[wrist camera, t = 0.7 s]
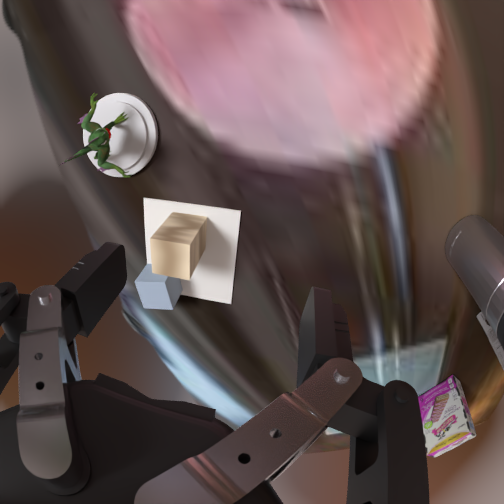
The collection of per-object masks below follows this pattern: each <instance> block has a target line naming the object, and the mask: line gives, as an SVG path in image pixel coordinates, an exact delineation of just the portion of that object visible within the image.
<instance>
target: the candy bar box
mask: <svg viewBox="0 0 504 504" xmlns="http://www.w3.org/2000/svg"><path fill="white" fill-rule="evenodd" d="M418 399H419V405H420V411H421V418H422V425H423V432H424V440H425V447H426V453H427V455H428V456H432V457H437V456H439V455H441V454H443V453H445V452H447V451H449V450H451V449H453V448H455V447H457V446H459V445H461V444H463V443H464V442H466V441H468V440H470V439H471V438H473V437H475V436H476V432H475V429H474V425H473V421H472V418H471V414H470V411H469V408H468V405H467V401H466V398H465V395H464V392H463V389H462V386H461V383H460V381H459V380H458V379H457V378H456V377H455V376H454V375H451V376H450V377H449V378H447V379H446V380H444V381H443V382H441V383H439V384H438V385H436V386H435V387H433V388H432V389H430V390H429V391H427V392H425V393H424V394H422V395H420V396H419V397H418Z"/></svg>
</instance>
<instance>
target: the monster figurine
mask: <svg viewBox="0 0 504 504" xmlns="http://www.w3.org/2000/svg"><path fill="white" fill-rule="evenodd" d="M94 94H95V93H94ZM94 94H93V95H94ZM93 95H92V96H91V101H90V102H91V110H90V111H89V113H88V114H86V115H85V116H84V117H82V118H80V122H79V123H82V128H83V140H84V146H85V147H84V148H83V149H82V150H80V151H79V152H78V153H76V154H75V155H73V156H72V157H70V158H68V159H67V160H66V161H65V162H67V161H70V160H72V159H74V158H77V157H79V156H82V155H84V154H86V153H87V155H88V156H89V158H90V160H91V161H92V163H93V164H94V165H95V166H96V167H97V168H98V170H100V171H102V172H103V173H105V174H107V175H110V176H114V177H124V178H127V177H130V175H132V174H135V173H136V172H138V171H140V170H141V169H142V168H144V167H145V166H146V165H147V164H148V162H149V161H150V160H151V158H152V156H153V155H154V152H155V150H156V146H157V141H158V127H157V122H156V119H155V116H154V114H153V112H152V110H151V109H150V107H149V106H148V105H147V104H146V103H145V102H144V101H143V100H142V99H140V98H139V97H137V96H135V95H132V94H128V93H115V94H110V95H108V96H105V97H104V98H102V99H100V100H99V101H98V100H97V101H96V102H95V101H94V97H95V96H96V95H97V94H96V95H95V96H93ZM79 123H77V124H79ZM65 162H64V163H65ZM62 164H63V163H62ZM60 165H61V164H60ZM98 170H97V171H98Z"/></svg>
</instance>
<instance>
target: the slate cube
mask: <svg viewBox="0 0 504 504" xmlns="http://www.w3.org/2000/svg"><path fill="white" fill-rule="evenodd" d="M135 284H136V287H137V290H138V293H139V296H140V298H141V301H142V304H143V307H144V308H150V309H169V310H173V309H174V307H175V305H176V303H177V300H178V298H179V296H180V294H181V292H182V290H183V289H182V285H181V281H180V278H175V277H170V276H164V275H159V274H154V273H152V264H147V265H146V266H145V268H144V269H143V271H142V272H141V273H140V275H139V276H138V278H137V279H136V280H135Z"/></svg>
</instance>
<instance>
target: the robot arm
mask: <svg viewBox="0 0 504 504" xmlns="http://www.w3.org/2000/svg"><path fill="white" fill-rule="evenodd" d="M445 254H446V257H447V260H448V261H449V263H450V264H451V266H452V267H453V268H454V270H455V271H456V273H457V274H458V276H459V277H460V279H461V280H462V282H463V283H464V285H465V286H466V288H467V289H468V291H469V292H470V294H471V295H472V297H473V298H474V300H475V301H476V303H477V305H478V306H479V308H480V309H481V311H482V313H483V314H484V316H485V318H486V319H487V321H488V322H489V324H490V326H491V328H492V329H493V331H494V333H495V335H496V336H497V338H498V340H499V342H500V344H501V346H502V348H503V350H504V236H503V235H502V234H500V233H499V232H498V231H497V230H496V229H495V228H494V227H493V226H492V225H491V224H490V223H489V222H488V221H486V220H485V219H484V218H483V217H481V216H478V215H472V216H467V217H465V218H463V219H462V220H460V221H459V222H458V223H457V224H456V225H455V226H454V227H453V228H452V230H451V231H450V233H449V235H448V237H447V241H446V245H445ZM126 280H127V270H126V258H125V248H124V246H123V245H120V244H116V243H111V242H106V243H105V244H104V245H103V246H101V247H100V248H99V249H98V250H95V251H93V252H91V253H89V254H87V255H85V256H84V257H83V258H82V259H81V260H80V261H79V263H77V264H76V265H75V266H74V267H73V268H72V269H71V270H69V271H68V272H67V274H65V276H63V277H62V278H61V279H60V280H59V281H58V282H57V284H55V286H52V285H45V286H42V287H39V288H37V289H36V290H34V291H33V292H32V293H31V295H30V294H18V292H17V289H16V286H15V285H14V284H13V283H11V282H3V283H0V326H1V325H2V327H3V330H4V332H5V333H4V335H3V336H2V337H1V338H0V394H1V393H2V391H3V389H4V388H5V386H6V384H7V383H8V381H9V379H10V378H11V376H12V375H13V373H14V371H15V370H16V369H17V367H18V365H19V403H20V404H19V405H16V406H14V407H11V408H9V409H6V410H4V411H2V412H0V504H283V502H282V501H281V499H280V498H279V497H278V495H277V493H276V492H275V490H274V489H273V487H272V486H271V484H270V483H272V482H273V481H274V480H275V479H276V478H277V477H278V476H280V475H281V474H282V473H283V472H284V471H285V470H286V469H287V468H288V467H289V466H290V465H291V464H292V463H293V462H294V461H295V460H296V459H297V458H298V457H299V456H300V455H301V454H302V453H303V452H304V451H305V450H306V449H307V448H308V447H309V446H310V445H311V444H312V443H313V442H314V441H315V440H316V439H317V438H318V437H319V436H320V435H321V434H322V433H323V432H324V431H325V430H326V429H327V428H328V427H331V428H333V429H336V430H338V431H341V432H343V433H346V434H349V435H350V457H349V460H350V461H349V477H348V491H347V503H346V504H429V484H428V469H427V458H426V448H425V440H424V432H423V425H422V418H421V411H420V405H419V399H418V395H417V393H416V391H415V389H414V388H413V387H412V386H411V385H409V384H408V383H406V382H404V381H400V380H393V381H390V382H389V383H387V384H386V386H385V387H384V386H382V385H379V384H377V383H374V382H371V381H369V380H367V379H365V378H364V377H363V376H362V372H361V370H360V368H359V367H358V366H357V365H356V364H355V363H354V362H353V357H352V349H351V341H350V334H349V327H348V320H347V314H346V312H345V311H344V309H343V308H342V306H341V305H340V304H334V303H332V297H331V291H330V290H327V289H322V288H317V287H312V288H311V290H310V293H309V296H308V299H307V302H306V305H305V308H304V311H303V314H302V317H301V321H300V327H299V350H298V372H297V389H296V390H295V391H293V392H292V393H289V392H286V393H284V394H282V395H281V396H280V397H278V398H277V399H276V400H275V401H273V402H272V403H271V404H270V405H268V406H267V407H266V408H264V409H263V410H262V411H261V412H259V413H258V414H257V415H255V416H254V417H253V418H251V419H250V420H249V421H247V422H246V423H245V424H243V425H242V426H241V427H239V428H238V429H236V430H235V431H234V430H233V429H232V428H231V427H229V426H228V425H227V424H225V423H224V422H222V421H220V420H218V419H216V418H215V410H216V409H212V408H208V407H203V406H199V405H196V404H192V403H188V402H183V401H167V400H156V399H151V398H148V397H147V396H145V395H143V394H142V393H140V392H139V391H137V390H136V389H134V388H132V387H130V386H129V385H128V384H126V383H124V382H122V381H119V380H116V379H114V378H111V377H109V376H106V375H104V374H101V373H99V375H98V376H97V378H96V380H82V379H81V375H80V369H79V363H78V355H77V347H76V341H75V337H76V335H77V334H80V335H82V336H85V337H88V336H89V334H90V333H91V331H92V330H93V329H94V327H95V326H96V324H97V323H98V322H99V320H100V319H101V317H102V316H103V315H104V313H105V312H106V311H107V309H108V308H109V307H110V305H111V304H112V303H113V301H114V300H115V299H116V297H117V296H118V295H119V293H120V292H121V291H122V289H123V288H124V286H125V284H126Z"/></svg>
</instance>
